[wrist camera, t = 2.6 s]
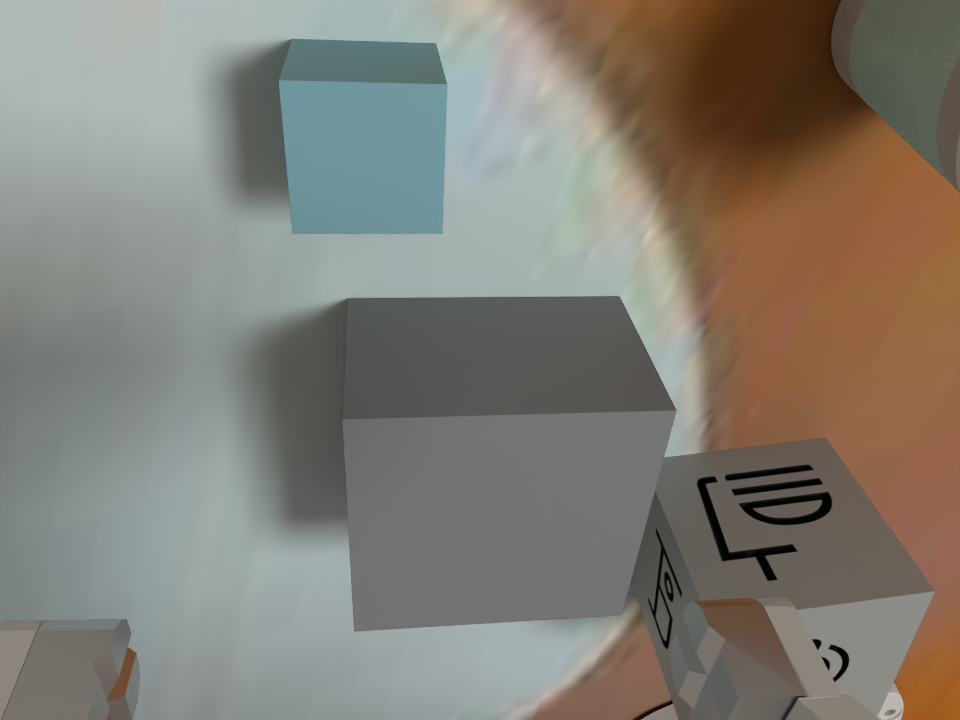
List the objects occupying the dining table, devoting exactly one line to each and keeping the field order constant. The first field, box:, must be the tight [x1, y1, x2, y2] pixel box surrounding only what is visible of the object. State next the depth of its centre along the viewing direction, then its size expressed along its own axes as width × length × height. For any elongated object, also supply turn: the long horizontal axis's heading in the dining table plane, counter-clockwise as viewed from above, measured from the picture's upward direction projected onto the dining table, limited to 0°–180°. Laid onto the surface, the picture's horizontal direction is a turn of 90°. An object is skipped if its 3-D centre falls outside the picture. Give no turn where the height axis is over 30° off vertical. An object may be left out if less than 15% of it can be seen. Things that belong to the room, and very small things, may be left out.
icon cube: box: [632, 438, 935, 720], centre depth 40 cm, size 10×10×10 cm
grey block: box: [342, 297, 676, 631], centre depth 34 cm, size 12×12×8 cm
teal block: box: [279, 39, 447, 234], centre depth 27 cm, size 5×5×5 cm
